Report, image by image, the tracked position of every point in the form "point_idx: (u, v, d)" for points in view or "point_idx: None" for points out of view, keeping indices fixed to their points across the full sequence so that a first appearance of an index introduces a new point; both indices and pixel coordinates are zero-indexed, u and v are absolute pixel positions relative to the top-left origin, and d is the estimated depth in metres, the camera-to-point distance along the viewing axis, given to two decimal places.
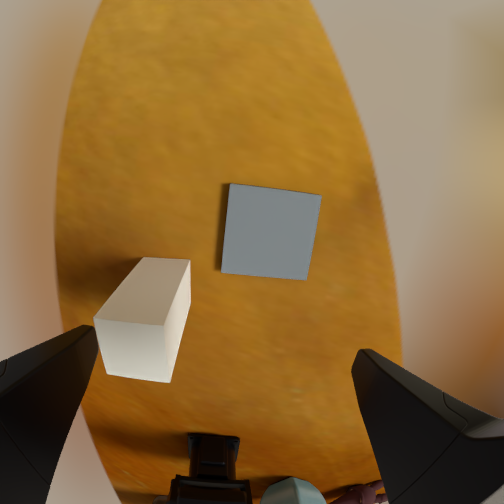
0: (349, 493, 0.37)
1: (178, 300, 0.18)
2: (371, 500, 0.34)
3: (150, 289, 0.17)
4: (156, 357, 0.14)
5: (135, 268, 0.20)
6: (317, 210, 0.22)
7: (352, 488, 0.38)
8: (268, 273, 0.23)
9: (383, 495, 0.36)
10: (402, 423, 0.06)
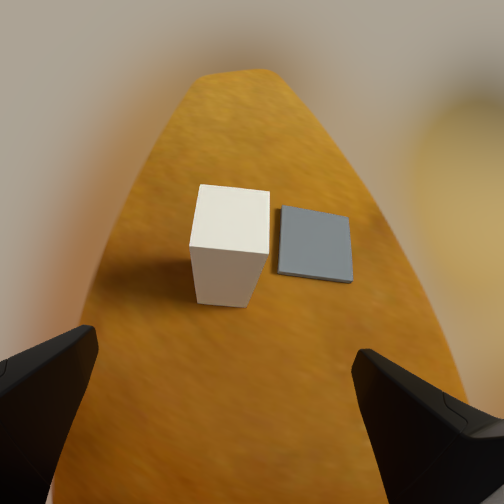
0: None
1: None
2: None
3: None
4: (258, 221, 0.15)
5: None
6: (348, 226, 0.28)
7: None
8: (320, 273, 0.25)
9: None
10: (402, 423, 0.06)
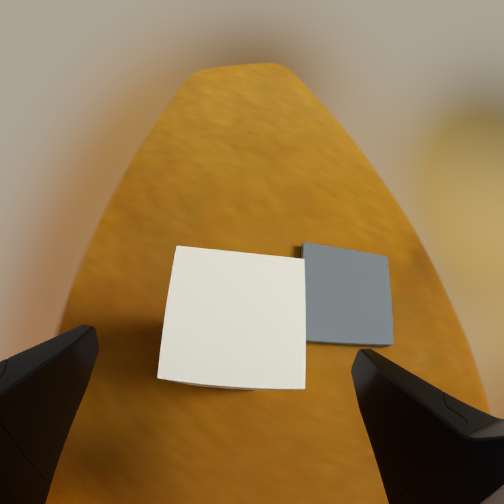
0: None
1: None
2: None
3: None
4: (286, 323, 0.08)
5: None
6: (387, 269, 0.20)
7: None
8: (353, 338, 0.18)
9: None
10: (402, 423, 0.06)
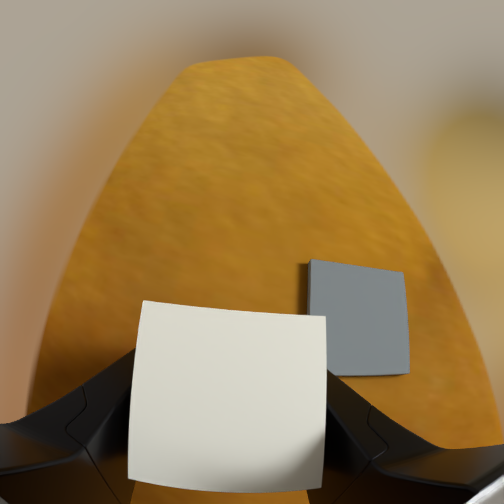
0: None
1: None
2: None
3: None
4: (299, 411, 0.05)
5: None
6: (403, 288, 0.18)
7: None
8: (366, 369, 0.15)
9: None
10: None
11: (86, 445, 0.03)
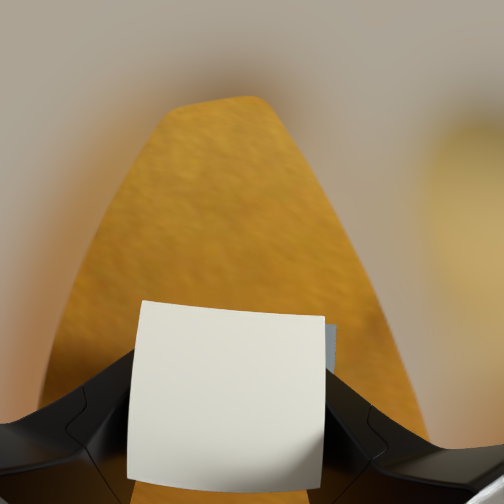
0: None
1: None
2: None
3: None
4: (298, 411, 0.05)
5: None
6: (334, 338, 0.22)
7: None
8: None
9: None
10: None
11: (86, 445, 0.03)
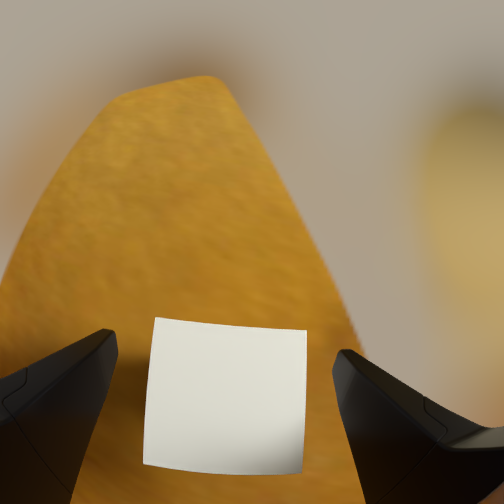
0: None
1: None
2: None
3: None
4: (283, 408, 0.06)
5: None
6: None
7: None
8: None
9: None
10: (380, 428, 0.06)
11: (15, 416, 0.03)
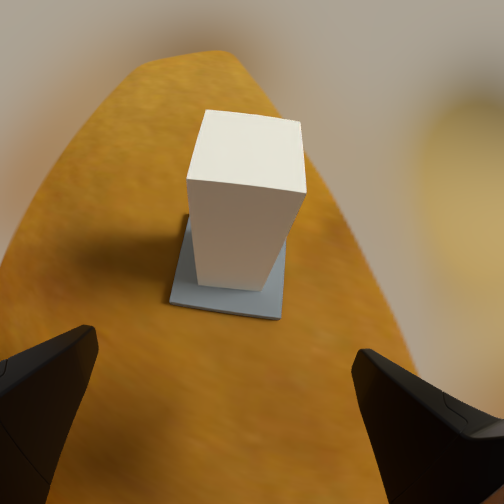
0: None
1: None
2: None
3: None
4: (288, 152, 0.10)
5: None
6: None
7: None
8: (229, 306, 0.18)
9: None
10: (402, 423, 0.06)
11: None
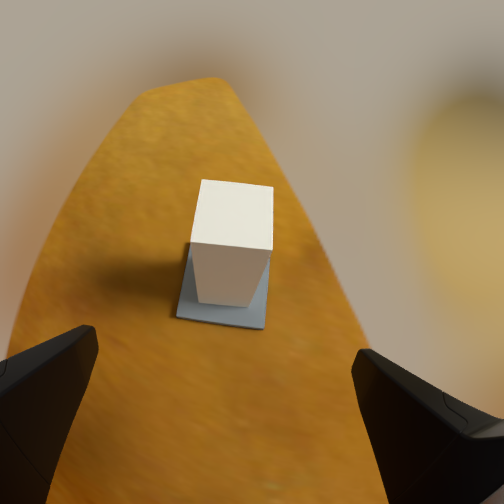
0: None
1: None
2: None
3: None
4: (262, 216, 0.15)
5: None
6: (267, 262, 0.25)
7: None
8: (223, 319, 0.22)
9: None
10: (402, 423, 0.06)
11: None
